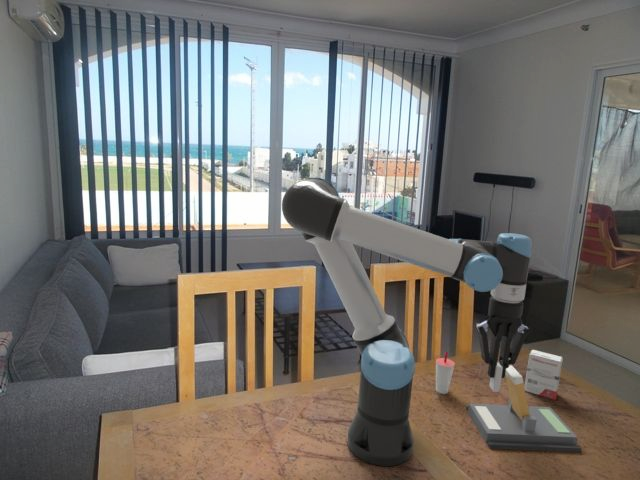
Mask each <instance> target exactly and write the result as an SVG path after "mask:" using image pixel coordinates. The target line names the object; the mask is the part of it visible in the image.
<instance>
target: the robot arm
mask: <svg viewBox="0 0 640 480" xmlns="http://www.w3.org/2000/svg"><path fill="white" fill-rule="evenodd" d="M339 194H340V193H339V192H338V190H337V188H336V187H335V186H334V185H333V184H332V183H331V182H330V181H328V180H327V179H324V178H321V177H318V176H317V177H307V178H306V179H303V180H301V181H298V182H296V183H293V184H292V185H291V186H290V187H288V189H287V190H286V191H285V193H284V195H283V197H282V200H281V211H282V215H283V217H284V219H285V221H286V222H287V224H289V226H290V227H291V228H292V229H294V230H296V231H298V232H301V234H302V236H303V238H304V240H305V242H307V243H310V244H313V245H314V247H315V249H316V251H317V253H318V255H319V257H320V259H321V261H322V263H323V265H324V268H325V269H326V271H327V274H328V276H329V278H330V280H331V282H332V284H333V286H334V288H335V290H336V293H337V294H338V297H339V298H340V301H341V303H342V304H343V307H344V308H345V311H346V313H347V315H348V318H349V319H350V321H351V323H352V325H353V327H354V330H353V333H352V339H353V341H354V343H355V345H356V347H357V350H358V352H359V353H360V354H359V355H360V356H361V357H360V358H361V359H360V375H359V388H358V400H357V410H356V411H355V414H354V417H353V419H352V421H351V423H350V425H349V427H348V431H347V436H346V437H347V439H346V443H347V447H348V449H349V450H350V452H351V453H352V454H353V455H354V456H356V457H357V458H358V459H360V460H361V461H364V462H365V463H368V464H371V465H376V466H381V467H394V466H398V465H401V464H404V463H405V462H407V461H408V460H410V458H411V457H412V454H413V450H414V437H413V432H412V428H411V424H410V420H409V417H410V409H411V408H410V407H411V399H412V398H411V397H412V389H413V388H412V387H413V380H414V374H415V371H416V369H415V368H416V366H415V357H414V354H413V352H412V351H411V350H410V347H409V346H410V345H409V344H410V343H409V340H408V339H407V338H408V337H407V336H406V335H405V333H404V332H403V330H402V329H400V327H399V325H398V322H397V321H396V319H395V317H394V316H393V315H389V314H387V313H386V312H385V309H384V308H383V306H382V305H383V304H382V303H381V301H380V299H379V297H378V295H377V293H376V290H375V288H374V286H373V284H372V282H371V281H370V278H369V276H368V274H367V271H366V269H365V268H364V265H363V263H362V261H361V259H360V257H359V255H358V253H357V250H356V249H355V247H354V245H355V246H358V247H360V248H364V249H367V250H369V251H373V252H375V253H379V254H381V255H383V256H387V257H390V258H393V259H396V260H399V261H401V262H405V263H408V264H410V265H412V266H416V267H420V268H422V269H426V270H428V271H431V272H434V273H436V274H440V275H443V276H446V277H449V278H451V279H454V280H457V281H460V282H463V283H465V284H466V285H467V286H468V287H469V288H471V289H472V290H474V291H476V292H479V293H487V292H490V295H491V296H490V297H489V304H488V313H487V316H486V317H485V320H484V321H482V322H481V323H480V322H476V323H475V328H476V330H477V332H478V337H479V338H478V339H479V346H480V356H481V359H482V360H483V361H484V363H485V364H487V365H488V368H487V375H488V377H489V385H488V386H489V388H490V389H491V391H492V392H494V393H497V392H498V393H500V391H501V390H500V389H501V383H502V379H505V378H506V376H505V372H506V368H508V367H509V366H510V365H512V366H513V365H516V364H515V363H516V362H517V359H518V357H519V354H520V353H521V352H520V351H521V350H522V347H523V345H524V342H525V339H526V338H527V336H529V334H531V329H530V327H528V326H526V324H523V320H522V316H523V311H524V302H523V301H524V300H525V296H526V291H527V290H526V289H527V280H528V274H529V269H530V264H531V258H532V250H533V249H532V247H533V245H532V244H533V242H532V241H533V240H532V239H531V237H529V236H527V235H524V234H520V233H519V234H518V233H513V232H511V233H510V232H508V233H506V232H504V233H503V232H502V233H500V234H498V237H497V239H496V241H486V240H485V241H484V240H476V239H465V238H464V239H463V238H449V239H448V238H445V237H443V236H440V235H438V234H437V235H436V234H433V233H431V232H428V231H425V230H422V229H419V228H416V227H414V226H410V225H407V224H404V223H401V222H398V221H395V220H393V219H389V218H386V217H384V216H381V215H378V214H374V213H371V212H369V211H366V210H363V209H360V208H357V207H354V206H351V205H350V204H349V203H348V200H347V199H346V198H343V197H340V195H339ZM488 328H489V330H490V332H491V333H490V335H491V340H490V347H489V340H488V339H489V338H488V334H487V332H488ZM514 334H515V335H514ZM513 336H514V337H513Z"/></svg>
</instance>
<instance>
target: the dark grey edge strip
mask: <svg viewBox="0 0 640 480" xmlns="http://www.w3.org/2000/svg"><path fill="white" fill-rule="evenodd" d="M487 447H488V448H489V449H499V450H500V449H505V450H523V451H524V450H525V451H527V450H528V451H530V450H531V451H548V452H549V451H550V452H551V451H552V452H572V453H574V452H575V453H580V452H581V453H582V447H581V446H580V445H577V444H576V445H555V444H532V443H509V442H488V443H487Z"/></svg>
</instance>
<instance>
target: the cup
mask: <svg viewBox="0 0 640 480" xmlns="http://www.w3.org/2000/svg"><path fill="white" fill-rule="evenodd" d="M455 365H456V363H455V361H453V360H452V359H448V352H446V351H445V353H444V357H438V358H436V359H435V391H436V393H438V394H442V395H447V394H448V392H449V388H450V385H451V381H452V377H453V372H454V368H455Z"/></svg>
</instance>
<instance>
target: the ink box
mask: <svg viewBox="0 0 640 480" xmlns="http://www.w3.org/2000/svg"><path fill="white" fill-rule="evenodd" d="M562 364H563V356H561V355H560V356H559V355H556V354H552V353H549V352H544V351H540V350H536V349H531V351H530V352H529V355H528V363H527V367H526V375H525V379H524V380H525V382H524V388H525V392H528V393H531V394H535V395H538V396H541V397H544V398H548V399H551V400H556V398H557V395H558V389H559V384H560V378H561V377H560V376H561V371H562V366H563V365H562Z"/></svg>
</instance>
